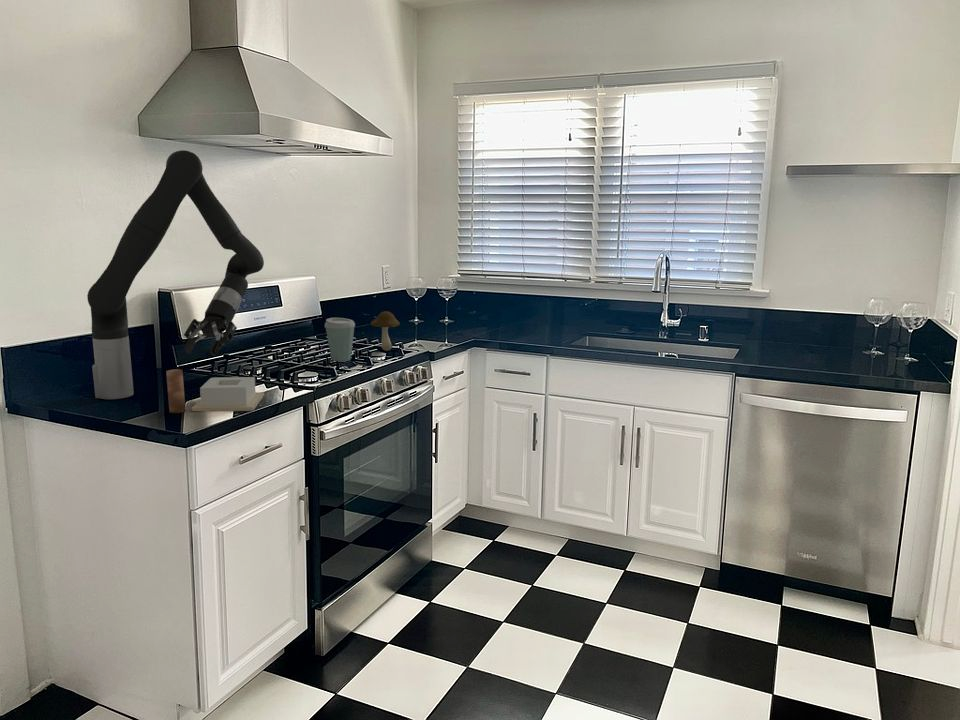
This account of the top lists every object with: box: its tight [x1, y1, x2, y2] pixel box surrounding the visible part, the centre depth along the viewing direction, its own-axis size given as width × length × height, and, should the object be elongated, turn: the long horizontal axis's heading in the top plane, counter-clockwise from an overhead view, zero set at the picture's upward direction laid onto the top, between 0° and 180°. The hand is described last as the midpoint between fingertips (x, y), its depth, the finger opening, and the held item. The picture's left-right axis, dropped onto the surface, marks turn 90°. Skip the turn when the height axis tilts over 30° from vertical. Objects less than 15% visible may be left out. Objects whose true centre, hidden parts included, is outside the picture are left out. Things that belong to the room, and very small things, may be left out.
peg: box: [166, 368, 186, 414], centre depth 201 cm, size 4×4×11 cm
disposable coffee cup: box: [324, 317, 356, 363], centre depth 263 cm, size 11×11×15 cm
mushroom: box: [370, 310, 401, 352], centre depth 282 cm, size 9×11×15 cm
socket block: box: [191, 376, 265, 412], centre depth 209 cm, size 16×16×6 cm
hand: (199, 353), depth 208 cm, fingers open, 8 cm apart
